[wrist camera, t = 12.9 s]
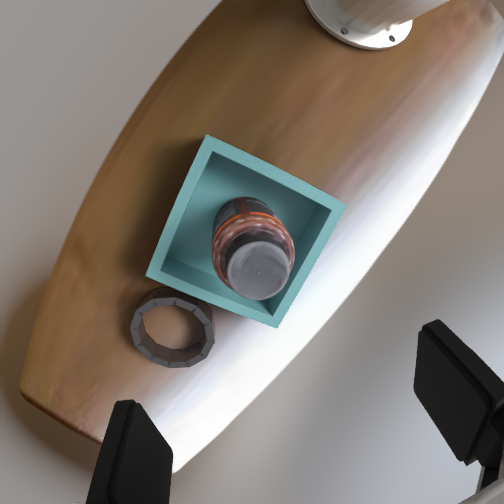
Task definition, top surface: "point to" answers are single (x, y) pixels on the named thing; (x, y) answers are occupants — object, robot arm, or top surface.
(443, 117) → the top surface
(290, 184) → the bin
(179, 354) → the collar
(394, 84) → the top surface
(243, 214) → the supplement bottle
